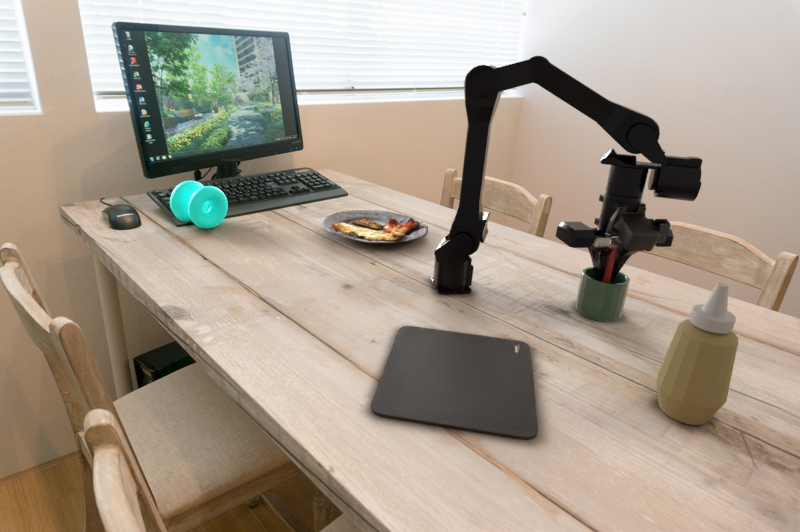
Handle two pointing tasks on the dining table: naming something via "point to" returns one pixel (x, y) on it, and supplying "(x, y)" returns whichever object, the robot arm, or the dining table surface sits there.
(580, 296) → the cup
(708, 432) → the dining table surface
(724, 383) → the squeeze bottle
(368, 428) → the dining table surface
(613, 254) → the red wooden peg
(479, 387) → the mouse pad
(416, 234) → the food plate
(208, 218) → the turquoise spool
